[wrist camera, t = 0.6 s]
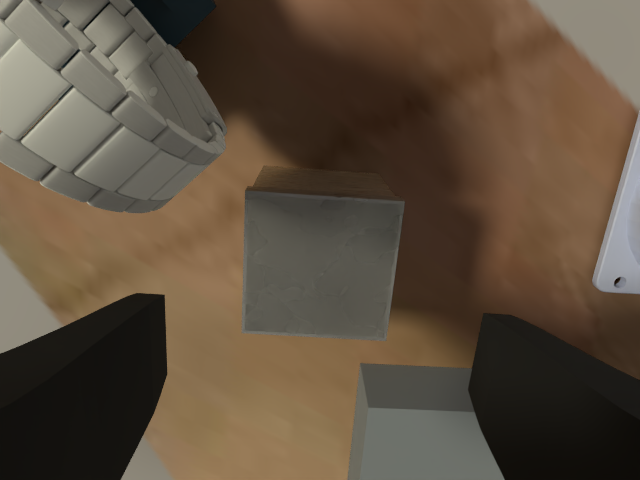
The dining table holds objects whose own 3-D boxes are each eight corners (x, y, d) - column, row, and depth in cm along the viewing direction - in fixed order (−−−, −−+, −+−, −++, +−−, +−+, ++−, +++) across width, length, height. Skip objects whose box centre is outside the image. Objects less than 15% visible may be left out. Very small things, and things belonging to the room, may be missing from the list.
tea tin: (380, 171, 19) (404, 201, 14) (368, 280, 20) (386, 340, 16) (261, 162, 19) (245, 190, 14) (257, 273, 20) (241, 332, 16)
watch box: (593, 369, 23) (642, 419, 19) (551, 512, 25) (588, 576, 22) (359, 358, 22) (368, 407, 19) (343, 505, 25) (348, 570, 22)
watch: (45, -203, 13) (-216, -438, 4) (244, 33, 18) (313, 150, 9) (-78, -55, 14) (-485, -2, 5) (140, 131, 19) (112, 322, 10)
